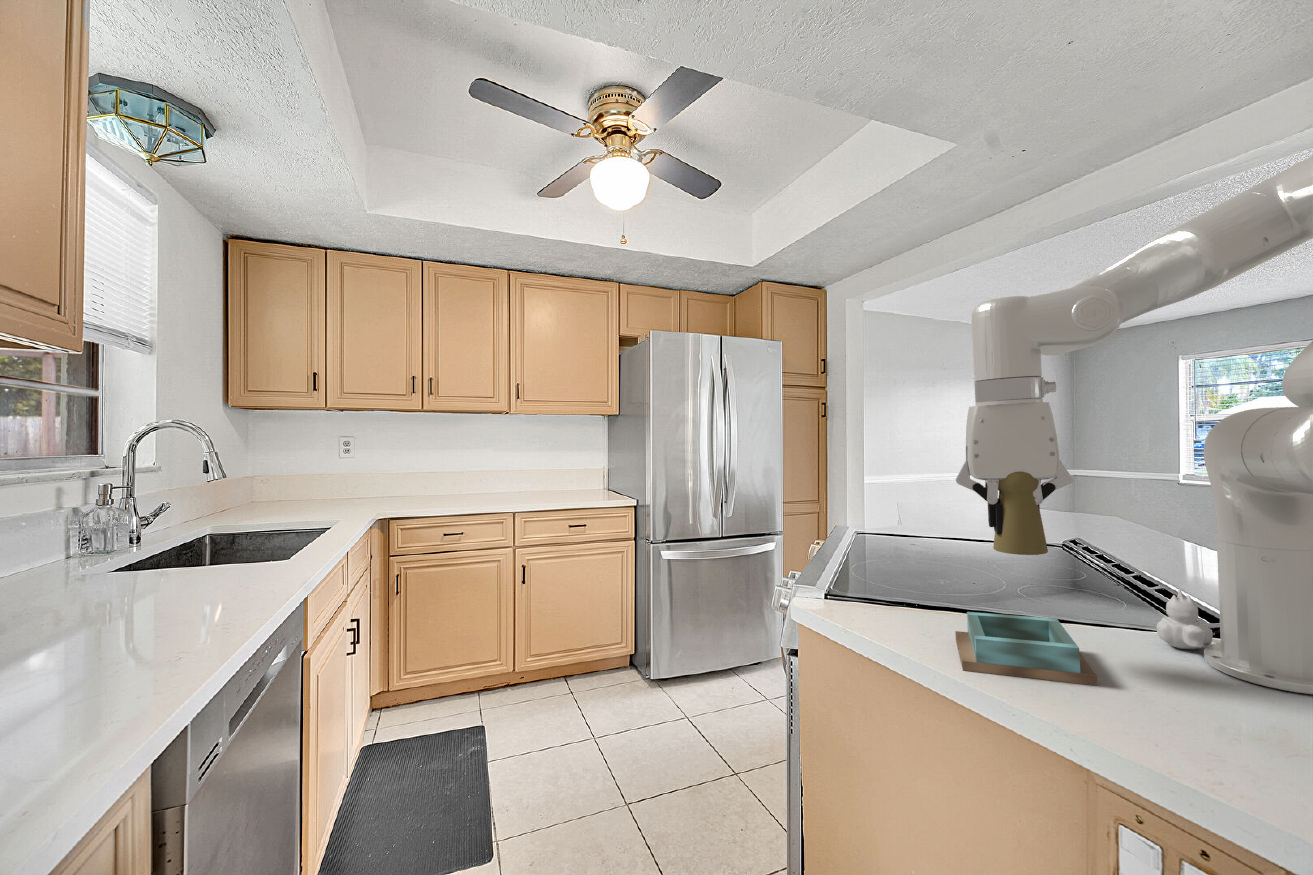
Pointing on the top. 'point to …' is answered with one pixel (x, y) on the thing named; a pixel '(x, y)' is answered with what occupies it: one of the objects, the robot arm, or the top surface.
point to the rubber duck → (1183, 624)
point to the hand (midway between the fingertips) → (1014, 531)
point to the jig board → (1022, 648)
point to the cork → (1020, 517)
